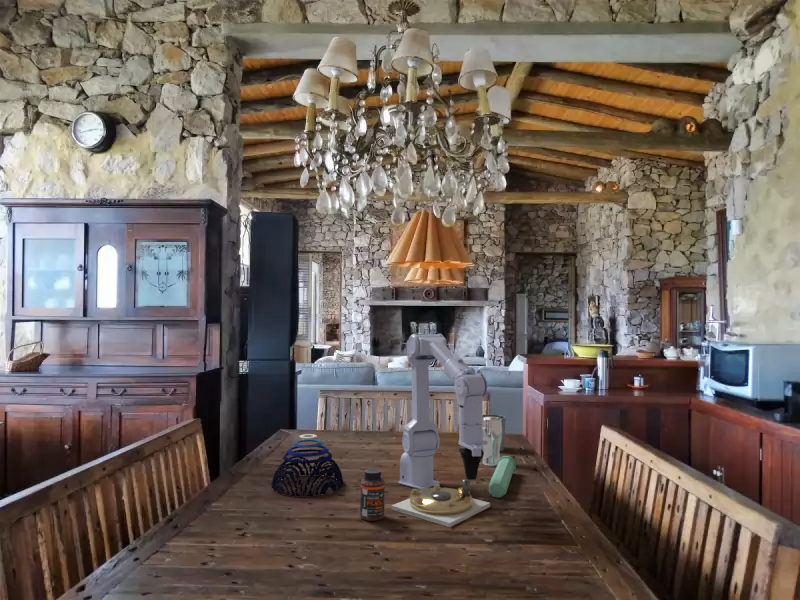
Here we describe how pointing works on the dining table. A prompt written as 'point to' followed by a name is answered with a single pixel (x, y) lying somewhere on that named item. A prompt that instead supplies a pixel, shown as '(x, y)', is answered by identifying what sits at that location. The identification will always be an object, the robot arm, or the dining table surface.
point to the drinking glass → (503, 420)
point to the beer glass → (492, 440)
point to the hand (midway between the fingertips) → (471, 478)
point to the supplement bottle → (372, 495)
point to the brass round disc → (442, 499)
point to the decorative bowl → (332, 470)
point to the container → (502, 476)
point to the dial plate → (441, 519)
